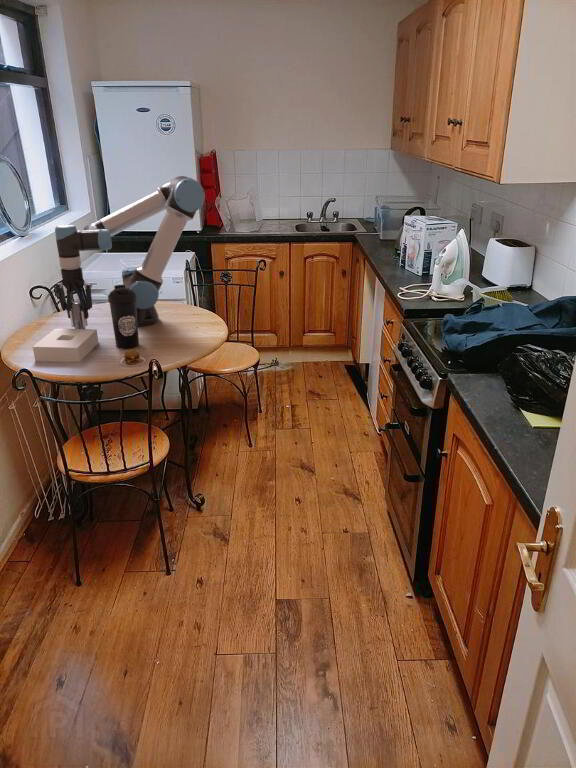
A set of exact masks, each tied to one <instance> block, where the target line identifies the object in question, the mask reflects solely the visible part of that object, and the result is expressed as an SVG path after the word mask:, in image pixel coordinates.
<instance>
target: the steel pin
mask: <svg viewBox="0 0 576 768" xmlns="http://www.w3.org/2000/svg"><path fill="white" fill-rule="evenodd" d="M71 307H72V309H71V310H72V314H73V320H74V327H73V328H74V329H86V327H83V321H82V314H81V311H82V310H83V309H82V306H81V303H80V301H72V303H71Z"/></svg>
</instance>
